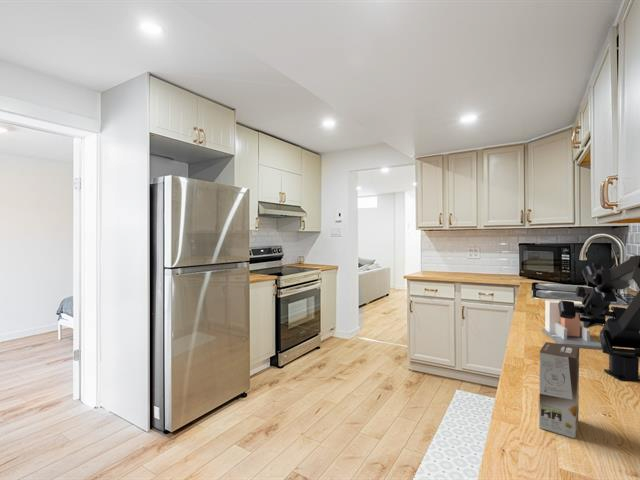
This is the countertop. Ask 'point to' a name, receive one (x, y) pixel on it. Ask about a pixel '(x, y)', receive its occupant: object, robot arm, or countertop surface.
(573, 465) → the countertop surface
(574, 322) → the plug
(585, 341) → the test rig
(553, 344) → the coffee box
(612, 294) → the robot arm
